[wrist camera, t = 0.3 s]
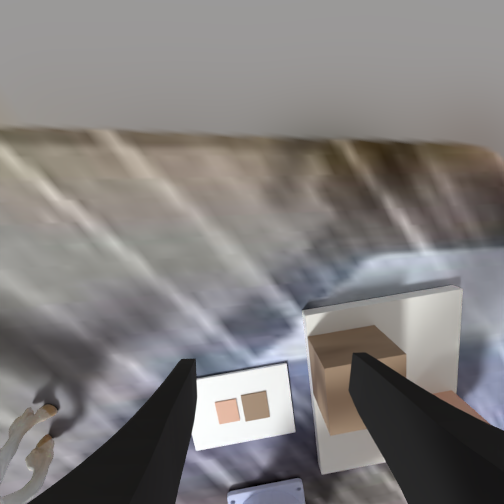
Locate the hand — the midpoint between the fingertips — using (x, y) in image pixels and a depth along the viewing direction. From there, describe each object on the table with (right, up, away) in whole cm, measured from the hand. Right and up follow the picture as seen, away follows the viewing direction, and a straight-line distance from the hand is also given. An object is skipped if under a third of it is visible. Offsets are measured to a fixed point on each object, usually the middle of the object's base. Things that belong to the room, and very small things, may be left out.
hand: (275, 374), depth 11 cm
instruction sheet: (-2, -9, +12) cm, 16 cm away
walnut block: (+7, -4, +11) cm, 14 cm away
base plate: (+12, -7, +13) cm, 19 cm away
